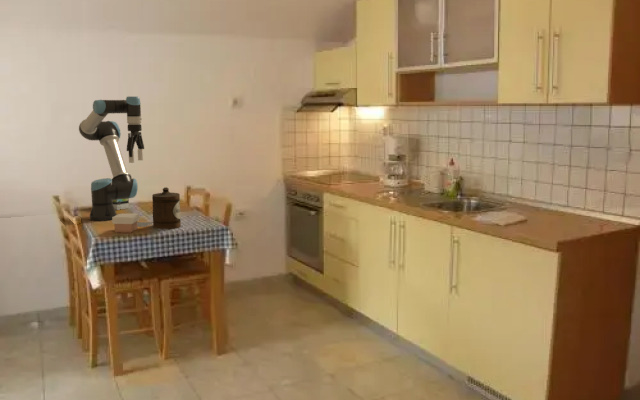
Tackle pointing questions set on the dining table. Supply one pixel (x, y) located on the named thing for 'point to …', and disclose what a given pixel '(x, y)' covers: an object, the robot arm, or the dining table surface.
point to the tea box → (121, 204)
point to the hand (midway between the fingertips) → (136, 161)
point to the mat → (143, 224)
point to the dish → (125, 228)
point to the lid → (125, 218)
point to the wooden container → (166, 210)
